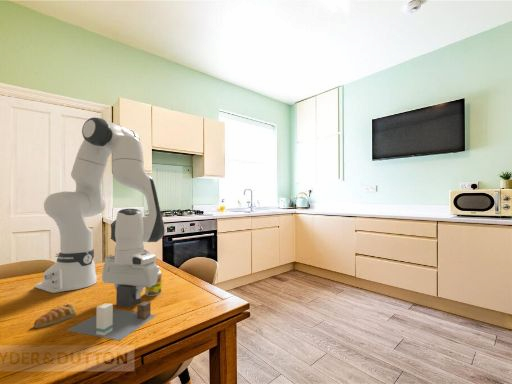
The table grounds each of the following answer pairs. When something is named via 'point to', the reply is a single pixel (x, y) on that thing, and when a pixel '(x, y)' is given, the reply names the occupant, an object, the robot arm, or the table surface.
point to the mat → (121, 325)
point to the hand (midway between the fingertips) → (129, 297)
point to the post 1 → (104, 319)
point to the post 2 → (143, 310)
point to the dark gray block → (126, 296)
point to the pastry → (55, 316)
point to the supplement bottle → (155, 286)
